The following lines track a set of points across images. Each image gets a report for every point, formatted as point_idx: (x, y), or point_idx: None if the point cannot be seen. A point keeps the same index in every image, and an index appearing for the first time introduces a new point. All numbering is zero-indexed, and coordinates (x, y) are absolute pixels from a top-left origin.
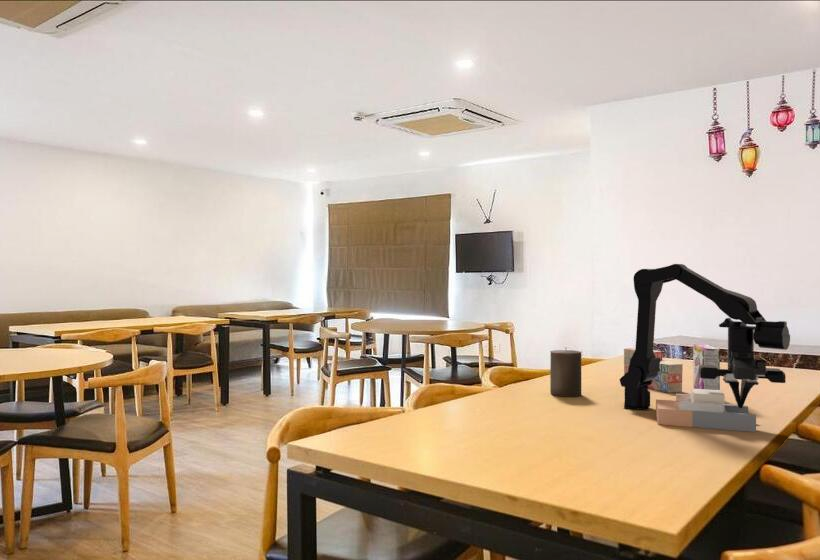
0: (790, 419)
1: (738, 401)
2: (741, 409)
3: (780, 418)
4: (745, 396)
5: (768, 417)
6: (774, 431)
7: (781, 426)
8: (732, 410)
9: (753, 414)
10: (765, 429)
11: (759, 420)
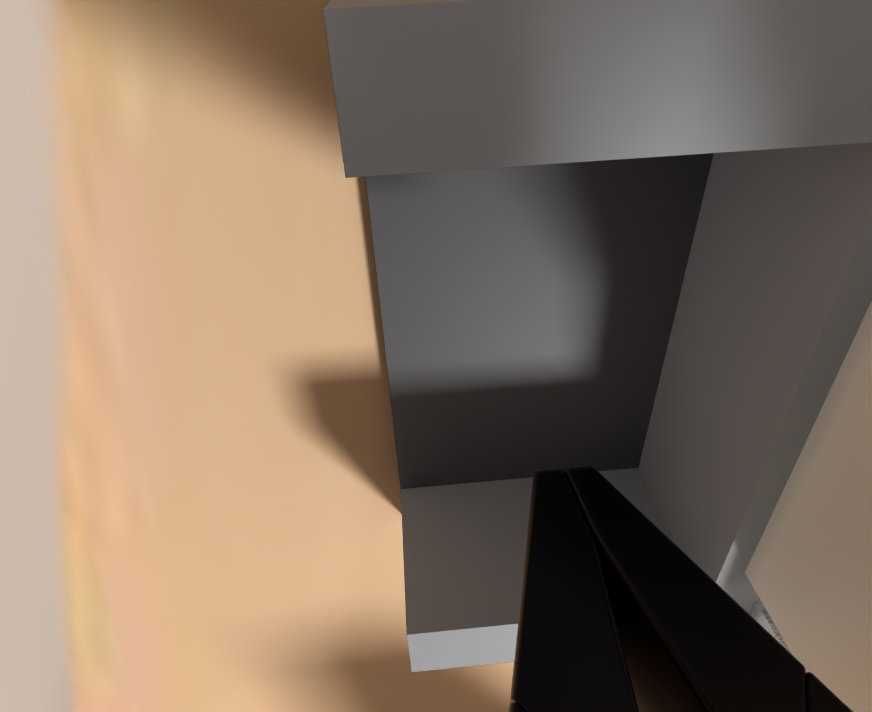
0: (73, 667)
1: (647, 548)
2: (477, 588)
3: (147, 665)
4: (547, 681)
5: (233, 659)
6: (102, 167)
7: (83, 447)
8: None
9: (378, 131)
10: (224, 239)
11: (298, 567)
